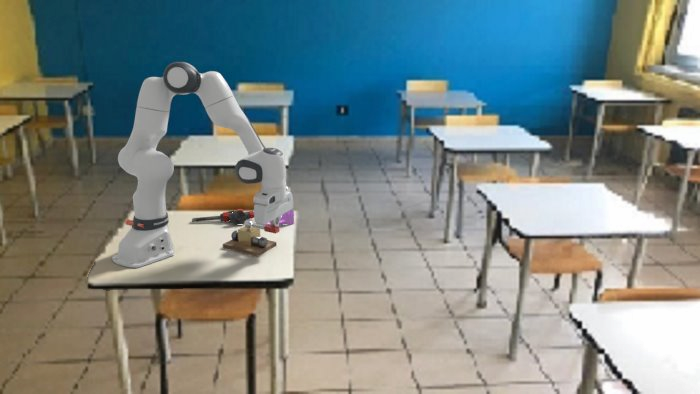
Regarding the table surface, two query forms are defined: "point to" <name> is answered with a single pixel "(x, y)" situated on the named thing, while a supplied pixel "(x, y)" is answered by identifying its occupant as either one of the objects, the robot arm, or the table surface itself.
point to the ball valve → (249, 237)
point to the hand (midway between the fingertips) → (275, 228)
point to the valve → (229, 217)
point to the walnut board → (248, 248)
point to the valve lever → (262, 226)
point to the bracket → (286, 218)
